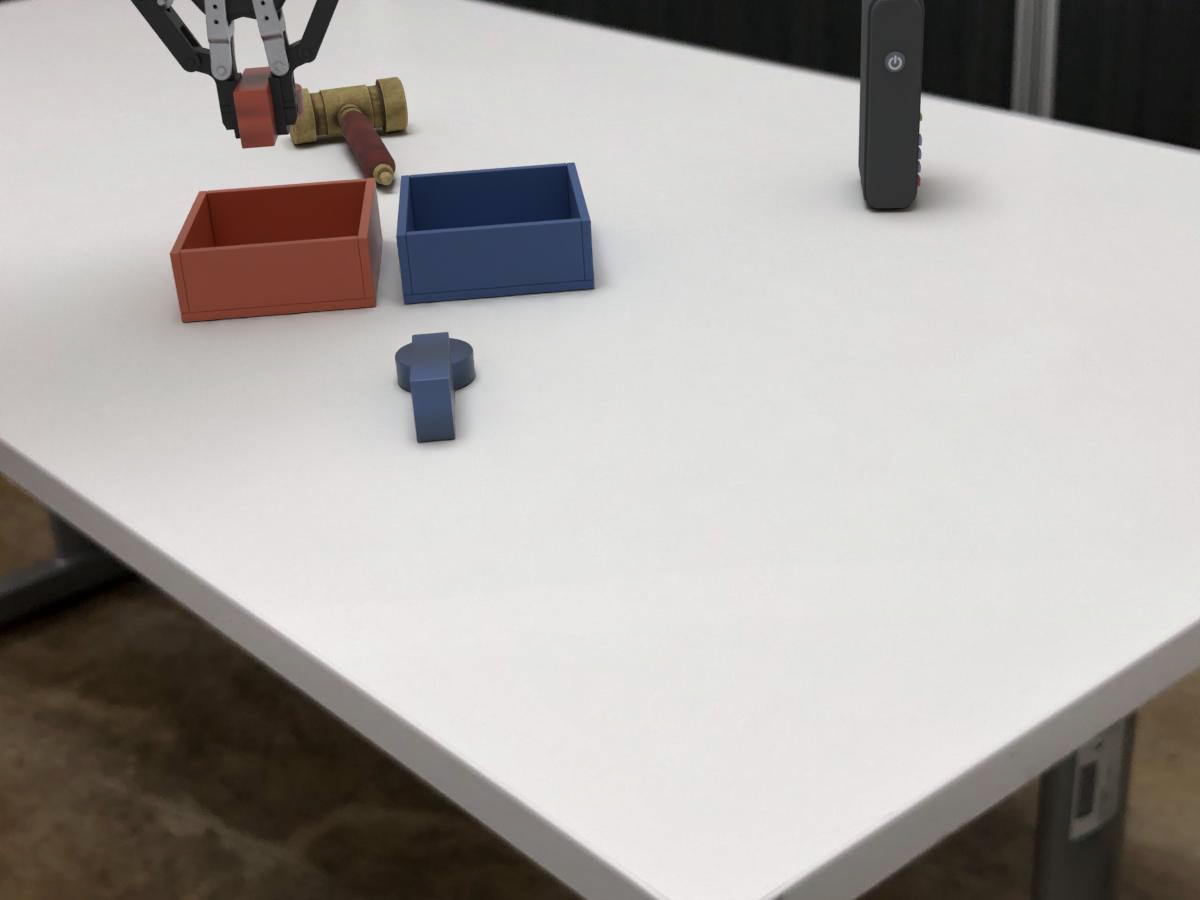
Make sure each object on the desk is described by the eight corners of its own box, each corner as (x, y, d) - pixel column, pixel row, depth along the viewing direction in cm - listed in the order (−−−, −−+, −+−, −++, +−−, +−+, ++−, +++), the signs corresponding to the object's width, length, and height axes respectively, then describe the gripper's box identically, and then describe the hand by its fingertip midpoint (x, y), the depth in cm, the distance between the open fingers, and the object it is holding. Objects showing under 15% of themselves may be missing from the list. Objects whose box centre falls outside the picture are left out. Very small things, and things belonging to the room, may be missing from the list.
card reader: (921, 212, 111) (930, -5, 104) (863, 214, 111) (868, -3, 104) (911, 174, 119) (918, -29, 112) (857, 176, 119) (861, -27, 112)
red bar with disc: (294, 144, 96) (286, 88, 94) (222, 150, 96) (212, 93, 94) (307, 103, 105) (300, 50, 104) (241, 108, 105) (233, 56, 103)
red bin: (182, 322, 99) (169, 253, 97) (209, 254, 111) (198, 191, 109) (375, 306, 100) (367, 237, 98) (382, 240, 111) (375, 177, 109)
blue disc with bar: (478, 437, 82) (472, 375, 80) (393, 444, 82) (386, 383, 80) (474, 359, 91) (469, 303, 90) (398, 366, 91) (391, 309, 89)
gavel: (448, 143, 121) (319, 161, 119) (453, 199, 123) (326, 217, 121) (394, 70, 138) (281, 84, 136) (400, 120, 141) (288, 135, 138)
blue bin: (404, 304, 100) (396, 235, 98) (407, 238, 112) (400, 175, 110) (594, 288, 100) (590, 219, 98) (578, 224, 112) (574, 162, 110)
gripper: (340, -174, 95) (375, 110, 102) (109, -158, 94) (162, 127, 102) (332, -162, 88) (370, 141, 96) (84, -145, 87) (142, 159, 95)
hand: (263, 132), depth 99 cm, fingers closed on red bar with disc, 2 cm apart
